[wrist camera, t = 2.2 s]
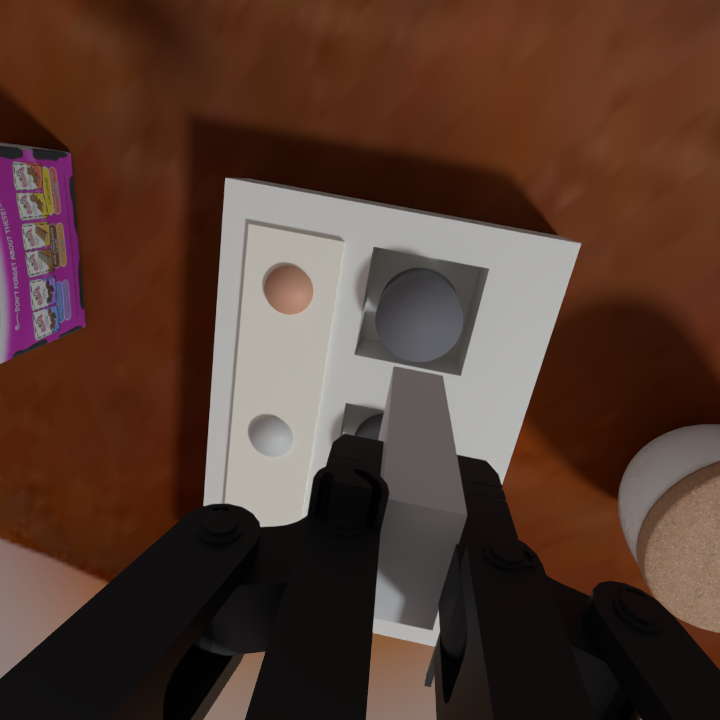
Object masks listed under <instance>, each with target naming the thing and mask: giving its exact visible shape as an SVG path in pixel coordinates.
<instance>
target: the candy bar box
mask: <svg viewBox="0 0 720 720" xmlns="http://www.w3.org/2000/svg"><path fill="white" fill-rule="evenodd" d="M85 326H86V318H85V306H84V295H83V285H82V274H81V263H80V253H79V243H78V232H77V221H76V209H75V197H74V185H73V174H72V161H71V154H70V153H69V152H64V151H58V150H51V149H44V148H38V147H31V146H24V145H17V144H9V143H1V142H0V364H1V363H3V362H5V361H8V360H10V359H12V358H14V357H17V356H19V355H21V354H24V353H26V352H28V351H31V350H33V349H35V348H38V347H40V346H42V345H45V344H47V343H49V342H52V341H54V340H56V339H59V338H61V337H63V336H66V335H68V334H71V333H73V332H75V331H77V330H79V329H82V328H84V327H85Z"/></svg>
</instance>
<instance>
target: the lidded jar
mask: <svg viewBox="0 0 720 720" xmlns="http://www.w3.org/2000/svg"><path fill="white" fill-rule="evenodd" d="M618 512H619V518H620V523H621V527H622V530H623V533H624V536H625V539H626V542H627V544H628V547H629V549H630V551H631V553H632V555H633V557H634V559H635V561H636V562H637V564H638V566H639V569H640V572H641V575H642V577H643V579H644V580H645V582H646V584H647V586H648V588H649V590H650V591H651V593H652V595H653V596H654V597H655V598H656V600H657V601H659V602H660V603H661V604H662V605H663V606H664V607H665V608H666V609H667V610H668V611H669V612H670V613H671V614H672V615H674V616H676V617H677V618H679V619H681V620H683V621H684V622H687V623H689V624H692V625H694V626H696V627H699V628H701V629H705V630H709V631H713V632H719V633H720V424H701V425H693V426H687V427H682V428H679V429H675V430H672V431H670V432H667V433H665V434H663V435H661V436H659V437H657V438H655V439H654V440H652V441H650V442H649V443H648V444H647V445H645V446H644V447H643V448H642V449H641V450H640V451H639V452H638V453H637V454H636V455H635V456H634V457H633V459H632V460H631V461H630V463H629V464H628V466H627V468H626V470H625V472H624V474H623V477H622V480H621V483H620V486H619V494H618Z"/></svg>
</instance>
